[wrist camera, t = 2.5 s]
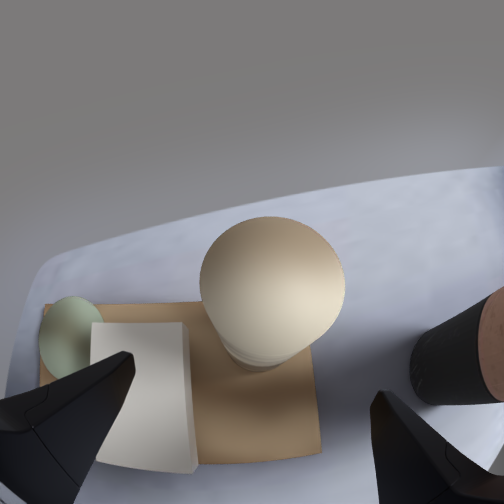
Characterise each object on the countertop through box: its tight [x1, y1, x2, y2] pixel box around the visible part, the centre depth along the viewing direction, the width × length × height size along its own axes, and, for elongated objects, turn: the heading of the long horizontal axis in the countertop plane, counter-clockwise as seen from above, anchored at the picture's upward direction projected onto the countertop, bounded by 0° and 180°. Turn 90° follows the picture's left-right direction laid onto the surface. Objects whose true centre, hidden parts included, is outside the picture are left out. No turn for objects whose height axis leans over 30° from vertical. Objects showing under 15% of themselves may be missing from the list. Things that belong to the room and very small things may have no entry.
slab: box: [90, 322, 199, 474], centre depth 15 cm, size 9×6×4 cm, turn 5°
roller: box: [199, 217, 345, 372], centre depth 14 cm, size 5×5×11 cm
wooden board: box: [39, 296, 322, 464], centre depth 17 cm, size 13×22×2 cm, turn 95°
